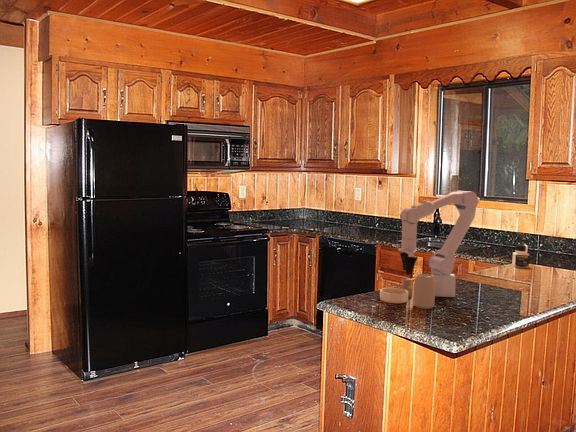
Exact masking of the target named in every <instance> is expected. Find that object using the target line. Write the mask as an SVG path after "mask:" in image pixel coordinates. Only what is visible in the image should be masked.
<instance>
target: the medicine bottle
mask: <svg viewBox="0 0 576 432" xmlns="http://www.w3.org/2000/svg"><path fill="white" fill-rule="evenodd" d="M514 248H515V250H514V251H515V252H512V259H511V260H512V262H511V263H512V264H511V265H512V266H513V267H514V268H519V269H521V268H524V269H529V268H530V257H531V256H530V254H529V253H528V249H529V246H528V245H527V244H525V243H518V244H516V245H515V247H514Z"/></svg>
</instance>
